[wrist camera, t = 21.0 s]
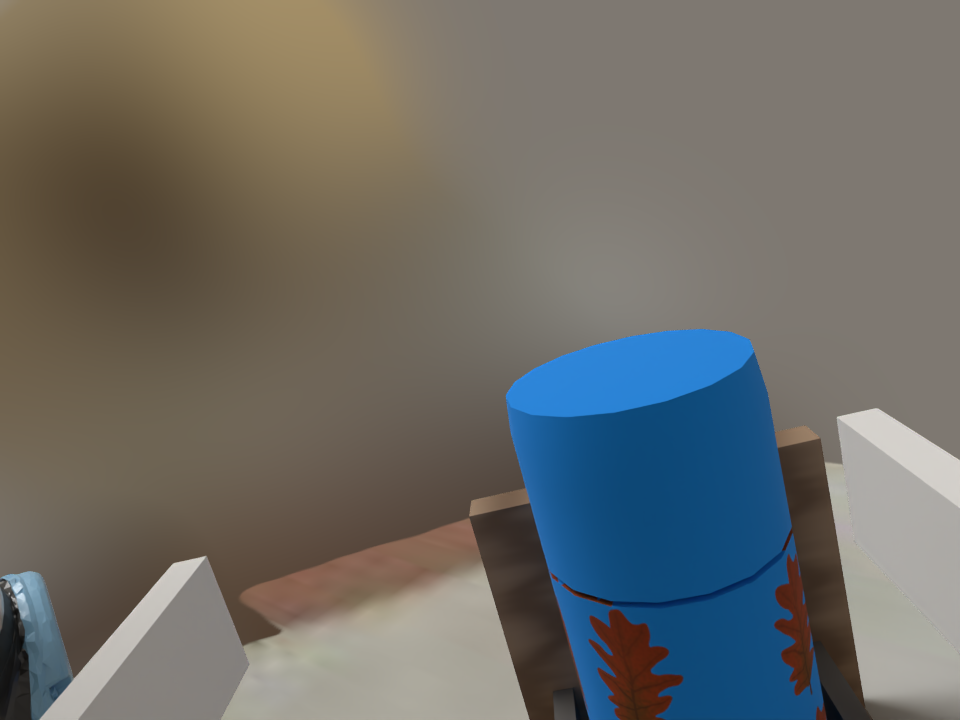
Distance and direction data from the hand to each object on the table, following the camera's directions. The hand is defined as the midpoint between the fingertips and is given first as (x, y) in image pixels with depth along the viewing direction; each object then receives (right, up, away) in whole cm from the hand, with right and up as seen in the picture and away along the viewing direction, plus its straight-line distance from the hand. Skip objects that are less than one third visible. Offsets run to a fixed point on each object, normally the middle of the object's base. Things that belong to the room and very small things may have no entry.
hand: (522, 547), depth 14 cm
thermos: (+12, -20, +21) cm, 32 cm away
